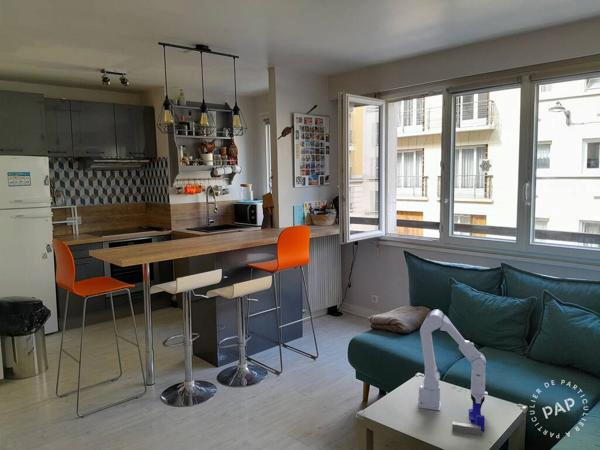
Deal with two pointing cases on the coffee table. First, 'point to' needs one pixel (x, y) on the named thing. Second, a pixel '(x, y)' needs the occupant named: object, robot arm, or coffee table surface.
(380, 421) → the coffee table surface
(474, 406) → the cable clip
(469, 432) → the socket strip
